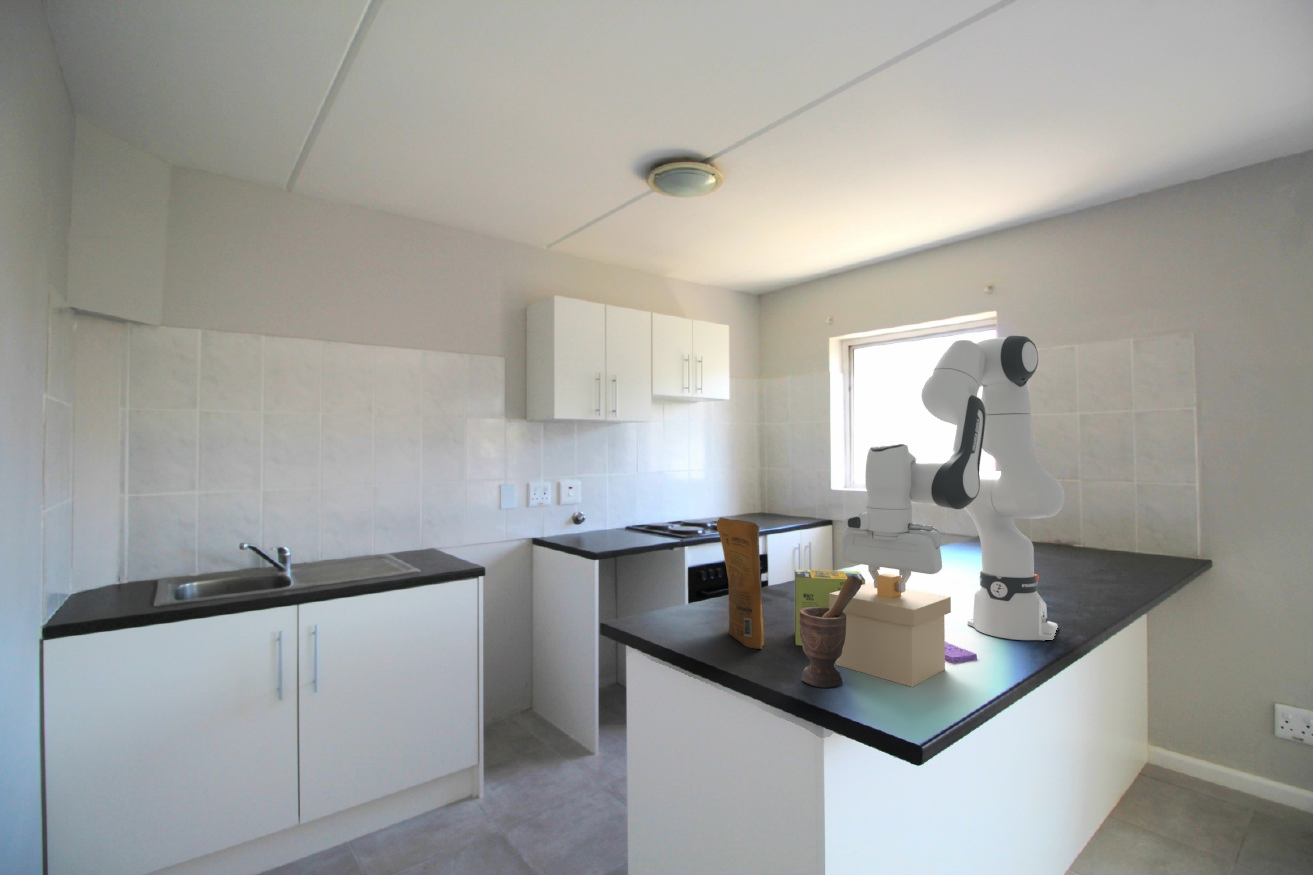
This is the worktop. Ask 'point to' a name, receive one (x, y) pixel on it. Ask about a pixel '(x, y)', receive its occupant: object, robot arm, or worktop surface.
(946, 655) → the sponges
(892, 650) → the carton
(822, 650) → the mortar and pestle
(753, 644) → the pancake mix bag
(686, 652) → the worktop surface
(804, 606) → the protein box
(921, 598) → the carton lid
